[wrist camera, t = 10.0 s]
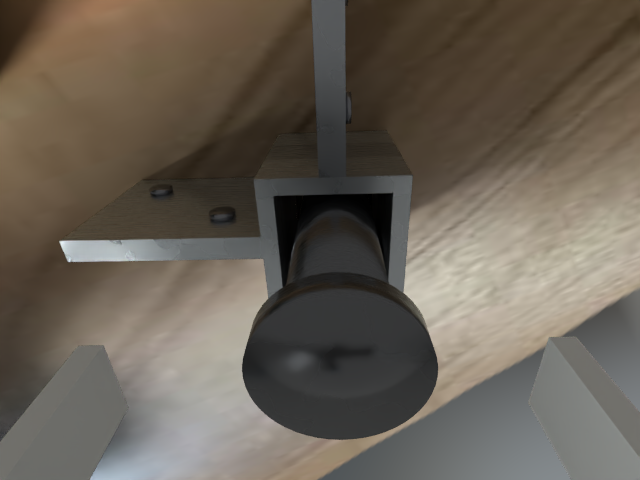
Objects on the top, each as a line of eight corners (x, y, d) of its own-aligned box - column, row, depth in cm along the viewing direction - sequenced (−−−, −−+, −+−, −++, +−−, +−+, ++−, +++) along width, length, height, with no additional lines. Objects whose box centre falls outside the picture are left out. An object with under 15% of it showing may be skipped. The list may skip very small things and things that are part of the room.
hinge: (155, 232, 28) (86, 307, 21) (79, -48, 20) (-82, -102, 13) (382, 227, 28) (402, 304, 20) (395, -66, 20) (437, -135, 12)
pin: (297, 220, 28) (254, 439, 12) (291, 143, 25) (228, 299, 10) (374, 219, 27) (428, 439, 12) (376, 140, 25) (449, 295, 9)
